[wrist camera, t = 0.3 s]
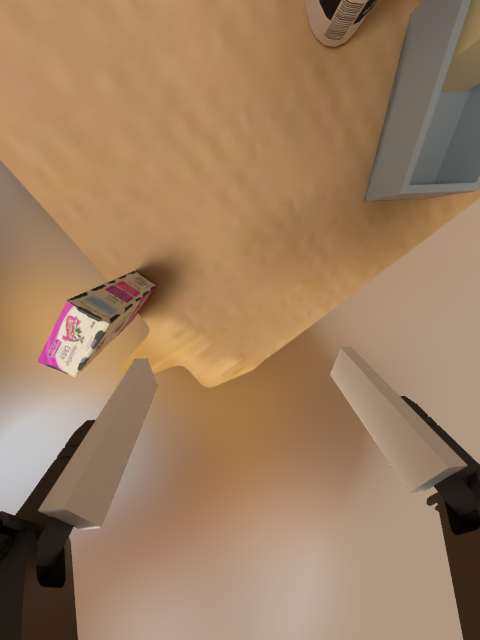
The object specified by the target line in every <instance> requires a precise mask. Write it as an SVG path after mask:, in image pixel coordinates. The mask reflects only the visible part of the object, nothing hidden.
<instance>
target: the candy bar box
mask: <svg viewBox="0 0 480 640" xmlns="http://www.w3.org/2000/svg"><path fill="white" fill-rule="evenodd" d="M155 288H156V285H155V284H154V283H152V282H151V281H149V280H148V279H146V278H145V277H144V276H142V275H141V274H139V273H138V272H136V271H133V272H131V273H128V274H126V275H124V276H122V277H120V278H117V279H115V280H113V281H110V282H108V283H105V284H103V285H101V286H99V287H96V288H94V289H92V290H89V291H87V292H85V293H82V294H80V295H78V296H75V297H73V298H71V299H69V300H66V302H65V304H64V306H63V308H62V310H61V312H60V314H59V316H58V319H57V321H56V323H55V325H54V326H53V329H52V331H51V333H50V335H49V337H48V339H47V341H46V342H45V345H44V347H43V349H42V351H41V352H40V354H39V356H38V359H37V360H36V361H37V362H39V363H41V364H43V365H46V366H48V367H51V368H54V369H57V370H59V371H62V372H64V373H67V374H69V375H72V376H74V377H76V376H77V375H78V374H79V373H80V372H81V371H82V370H83V369H84V368H85V367H86V366H87V365H88V364H89V363H90V362H91V361H92V360H93V359H94V358H95V357H96V356H97V355H98V354H99V353H100V352H101V351H102V350H103V349H104V348H105V347H106V346H107V345H108V344H109V343H110V342H111V341H112V340H114V339H115V338H116V336H118V334H120V333H121V332H122V330H124V329H125V328H126V327H127V326H128V324H130V323H131V322H132V320H133V319H134V317H135V316H136V315H137V313H138V312H139V310H140V309H141V307H142V306H143V305H144V303H145V302H146V300H147V299H148V297H149V296H150V295H151V293H152V292H153V290H154V289H155Z"/></svg>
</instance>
